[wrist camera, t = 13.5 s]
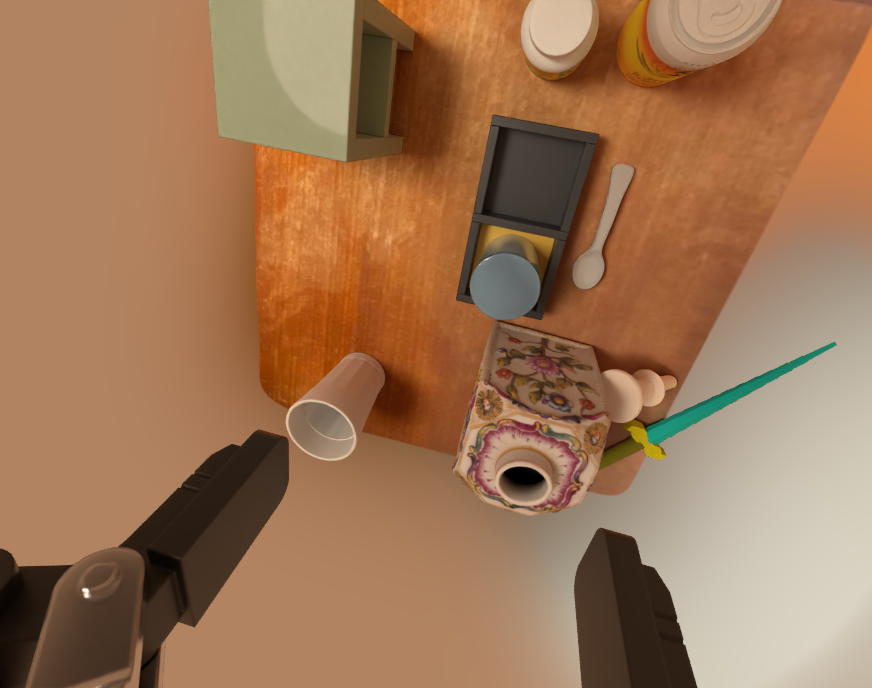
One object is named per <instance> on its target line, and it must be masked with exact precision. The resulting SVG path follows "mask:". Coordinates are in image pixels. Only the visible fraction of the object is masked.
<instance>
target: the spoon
mask: <svg viewBox="0 0 872 688" xmlns="http://www.w3.org/2000/svg"><path fill="white" fill-rule="evenodd" d="M633 174H634V168H633V167H632V166H630V165H625V164H615V165H614V166H613V168H612V172H611V177H610V183H609V189H608V195H607V199H606V203H605V207H604V210H603V213H602V217H601V220H600V223H599V226H598V229H597V233H596V235H595V238H594V241H593V243H592V245H591V247H590V248H589V249H588V250H587V251H586V252H584V253H583V254H582V255H580V256H579V257H578V259H577V260H576V262H575V264H574V266H573V269H572V279H573V282H574V284H575V285H576V286H577V287H578V288H580V289H584V290H585V289H590V288H592V287H594V286H595V285H596V284H597V283H598V282H599V281H600V279H601V277H602V275H603V272H604V259H603V256H602V248H603V245H604V242H605V240H606V237H607V235H608V233H609V230H610V228H611V226H612V223H613V221H614V218H615V216H616V213H617V210H618V208H619V205H620V203H621V200H622V198H623V195H624V193H625V191H626V189H627V187H628V185H629V183H630V181H631V179H632V177H633Z"/></svg>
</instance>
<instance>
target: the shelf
mask: <svg viewBox="0 0 872 688" xmlns="http://www.w3.org/2000/svg"><path fill="white" fill-rule="evenodd" d="M208 3H209V17H210V30H211V43H212V56H213V70H214V83H215V96H216V108H217V122H218V134H219V136H220V137H224V138H228V139H233V140H238V141H243V142H248V143H253V144H258V145H263V146H268V147H273V148H277V149H282V150H287V151H292V152H297V153H302V154H307V155H312V156H317V157H322V158H327V159H332V160H336V161H341V162H351V161H358V160H364V159H370V158H376V157H382V156H388V155H394V154H400V153H402V146H403V137H401V136H396V135H391V134H389V124H390V113H391V103H392V93H393V82H394V72H395V62H396V52H397V49H402V50H408V51H413V49H414V40H415V31H414V30H413V29H412V28H410V27H409V26H408V25H407V24H406V23H404V22H403V21H402V20H401V19H399V18H398V17H397V16H396V15H395V14H393V13H392V12H391V11H390V10H388V9H387V8H386V7H385V6H383V5H382V4H381V3H380V2H379V1H377V0H208Z"/></svg>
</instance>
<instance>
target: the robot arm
mask: <svg viewBox="0 0 872 688" xmlns="http://www.w3.org/2000/svg"><path fill="white" fill-rule="evenodd" d="M288 481H289V442H288V439H287V437H284V436H280V435H277V434H273V433H270V432H266V431H263V430H257V431H255V432H254V433H253V434H252V435H251V436H250V437H249V438H248V439H247V440H246V441H245V442H244V443H243V444H242V446H238V445H234V444H231V445H229V446H227V447H225V448H223V449H221V450H220V451H218V452H216V453H214V454H212V455H211V456H210V457H209V458H208V459H207V460H206V461H205V462H204V463H203V464H202V465H201V466H200V467H199V468H198V469H197V470H196V471H195V473H194V475H193V474H192V475H191V476H190V477H189V478H188V479H187V480H186V481H185V482H184V483H183V484H182V486H181V488H178V489H177V490H176V491H175V492H174V493H173V494H172V495H171V496H170V497H169V498H168V499H167V500H166V501H165V502H164V503H163V504H162V505H161V506H160V507H159V508H158V509H157V510H156V511H155V512H154V513H153V514H152V515H151V516H150V517H149V518H148V519H147V520H146V521H145V522H144V523H143V524H142V525H141V526H140V527H139V528H138V529H137V530H136V531H135V532H134V533H133V534H132V535H131V536H130V537H129V538H128V539H127V540H126V541H124V542H123V543H122V544H121V545H119V546H118V547H113V548H108V549H104V550H101V551H98V552H95V553H93V554H90V555H88V556H86V557H85V558H83V559H81V560H80V561H78V562H77V563H75V564H74V565H60V566H22V567H18V565H17V563H16V561H15V559H14V558H13V556H12V554H11V553H9V552H8V551H6V550H3V549H0V688H163V674H164V659H165V639H166V638H167V636H168V635H169V633H170V632H171V631H172V629H173V628H174V627H175V625H176V624H177V623H178V622H180V623H184V624H186V625H189V626H192V627H195V626H196V625H197V623H198V622H199V620H200V619H201V617H202V616H203V615H204V613H205V612H206V610H207V609H208V607H209V606H210V604H211V603H212V601H213V600H214V598H215V597H216V595H217V594H218V593H219V591H220V590H221V588H222V587H223V585H224V584H225V582H226V581H227V580H228V578H229V577H230V575H231V574H232V572H233V571H234V569H235V568H236V566H237V565H238V563H239V562H240V561H241V559H242V557H243V556H244V555H245V553H246V552H247V550H248V549H249V547H250V546H251V545H252V543H253V542H254V540H255V538H256V537H257V536H258V534H259V533H260V531H261V530H262V528H263V527H264V526H265V524H266V523H267V521H268V520H269V518H270V516H271V515H272V514H273V512H274V511H275V509H276V508H277V507H278V505H279V504H280V502H281V500H282V499H283V496H284V494H285V492H286V489H287V486H288ZM574 594H575V608H576V619H577V632H578V645H579V656H580V670H581V681H582V688H697V685H696V681H695V678H694V675H693V671H692V667H691V664H690V660H689V657H688V653H687V650H686V647H685V645H683V636H682V633H681V629H680V626H679V623H677V615H676V612H675V608H674V605H673V601H672V598H671V594H670V592H669V590H668V589H667V587H666V585H665V584H664V582H663V581H662V579H661V578H660V576H659V574H658V573H657V571H656V570H655V568H653V567H650V566H646V565H643V564H642V563H641V559H640V554H639V550H638V546H637V543H636V540H635V539H634V538H633V537H632V536H628V535H625V534H621V533H617V532H614V531H611V530H607V529H603V528H599V529H598V530H597V531H596V533H595V535H594V537H593V539H592V541H591V542H590V544H589V546H588V548H587V550H586V552H585V554H584V556H583V558H582V560H581V561H580V563H579V565H578V568H577V572H576V576H575V585H574Z"/></svg>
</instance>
